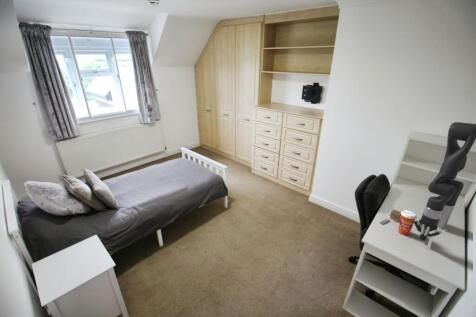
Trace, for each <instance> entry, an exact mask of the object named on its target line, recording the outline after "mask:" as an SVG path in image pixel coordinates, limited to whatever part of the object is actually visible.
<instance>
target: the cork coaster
mask: <svg viewBox="0 0 476 317" xmlns="http://www.w3.org/2000/svg"><path fill="white" fill-rule="evenodd" d="M390 215H391V214H388V215H387V219H388V220H390V221H392V222H395V223H400V219H399V221H395V220H393V219H390Z"/></svg>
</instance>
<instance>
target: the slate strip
mask: <svg viewBox="0 0 476 317" xmlns="http://www.w3.org/2000/svg"><path fill="white" fill-rule="evenodd" d="M390 221H391V220H390V219H389V218H385V219H384V220H381V221H380V222H379V224H380V225H384V224H387V223H389V222H390Z"/></svg>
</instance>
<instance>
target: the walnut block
mask: <svg viewBox="0 0 476 317" xmlns="http://www.w3.org/2000/svg"><path fill="white" fill-rule="evenodd" d="M401 212H402V211H400V210H397V209H393V208H392V211H391V212H390V214H389V215H390V219H393V220H395V221H399V219H400V218H401ZM390 219H389V220H390Z"/></svg>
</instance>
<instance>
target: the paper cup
mask: <svg viewBox="0 0 476 317" xmlns="http://www.w3.org/2000/svg"><path fill="white" fill-rule="evenodd" d="M400 212H401V217H400V222H399V226H398V233H399V234H400V235H404V236H409V235H410V234H411V231H412V228H413V226H414V225H415V224H414V221H416V219H417V218H418V217H417V214H416V213H415V212H413V211H410V210H405V209H404V210H402V211H400Z"/></svg>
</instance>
